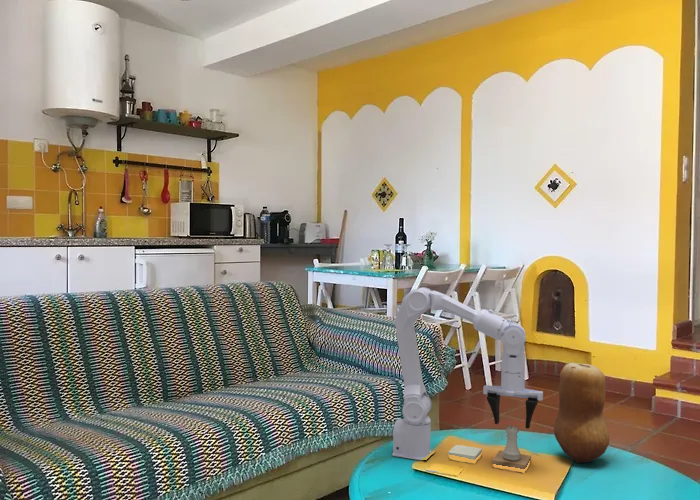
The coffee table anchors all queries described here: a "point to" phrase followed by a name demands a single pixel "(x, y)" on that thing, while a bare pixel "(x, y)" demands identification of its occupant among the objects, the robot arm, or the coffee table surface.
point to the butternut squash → (582, 412)
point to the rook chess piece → (511, 444)
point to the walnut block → (520, 463)
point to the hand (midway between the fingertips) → (512, 425)
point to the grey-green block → (465, 451)
